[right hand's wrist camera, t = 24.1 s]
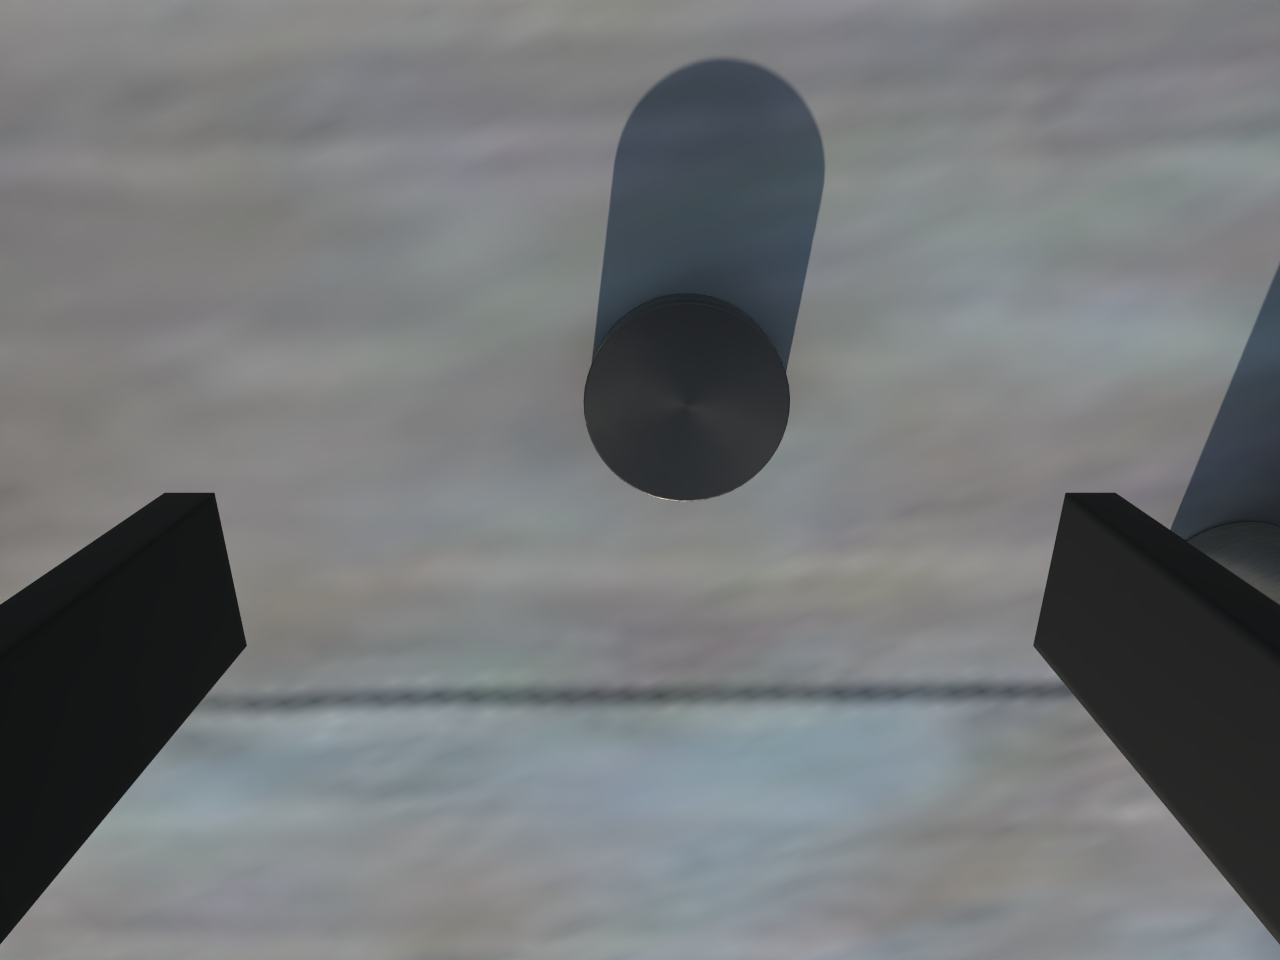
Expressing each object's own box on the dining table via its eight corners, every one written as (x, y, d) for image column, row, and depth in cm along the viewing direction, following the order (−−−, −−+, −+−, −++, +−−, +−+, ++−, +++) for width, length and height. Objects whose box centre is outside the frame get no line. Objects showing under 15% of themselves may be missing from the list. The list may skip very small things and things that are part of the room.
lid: (628, 504, 25) (626, 526, 23) (560, 333, 23) (552, 345, 22) (804, 446, 24) (814, 465, 23) (748, 264, 22) (754, 271, 21)
